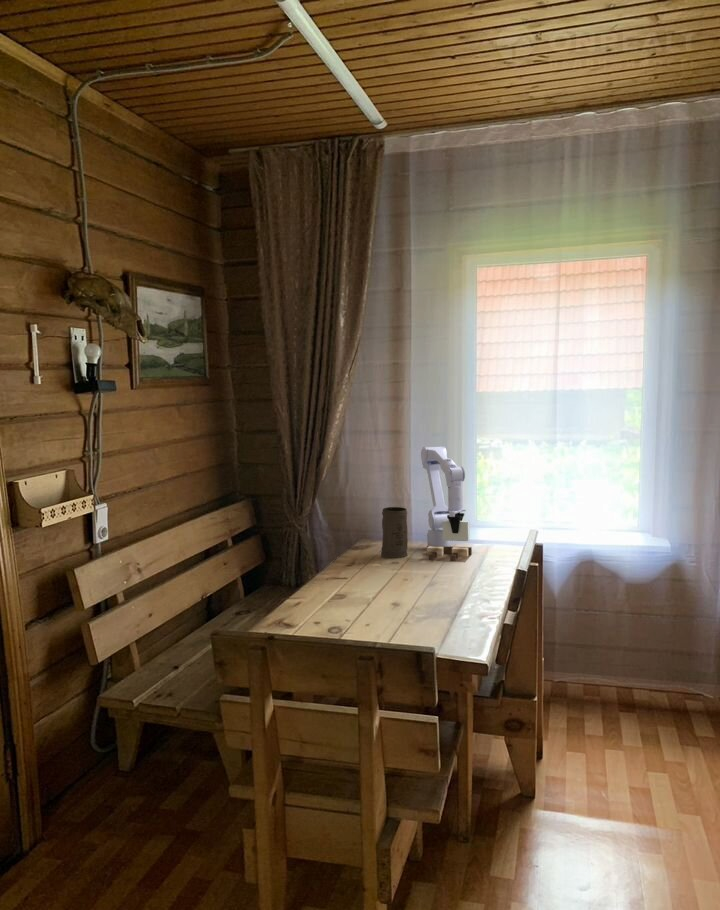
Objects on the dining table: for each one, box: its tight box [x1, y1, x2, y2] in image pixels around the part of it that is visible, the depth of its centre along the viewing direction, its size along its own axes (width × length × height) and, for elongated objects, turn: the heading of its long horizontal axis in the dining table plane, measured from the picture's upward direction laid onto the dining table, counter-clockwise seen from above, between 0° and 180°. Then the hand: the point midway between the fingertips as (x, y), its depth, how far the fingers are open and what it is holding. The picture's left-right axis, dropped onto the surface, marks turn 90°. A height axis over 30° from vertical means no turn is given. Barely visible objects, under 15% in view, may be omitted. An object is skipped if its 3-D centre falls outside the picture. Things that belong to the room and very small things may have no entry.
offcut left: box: [426, 546, 444, 556], centre depth 278 cm, size 6×3×3 cm, turn 71°
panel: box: [442, 520, 470, 542], centre depth 272 cm, size 10×3×8 cm, turn 71°
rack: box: [419, 545, 473, 563], centre depth 272 cm, size 18×14×4 cm
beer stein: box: [380, 506, 409, 560], centre depth 279 cm, size 15×11×20 cm
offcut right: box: [452, 546, 469, 557], centre depth 274 cm, size 6×3×3 cm, turn 71°
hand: (456, 532), depth 272 cm, fingers closed on panel, 3 cm apart
